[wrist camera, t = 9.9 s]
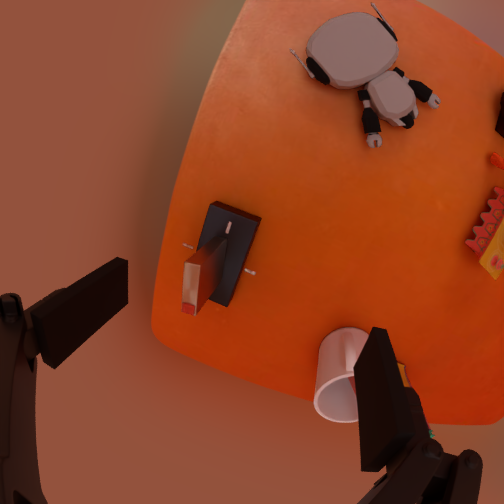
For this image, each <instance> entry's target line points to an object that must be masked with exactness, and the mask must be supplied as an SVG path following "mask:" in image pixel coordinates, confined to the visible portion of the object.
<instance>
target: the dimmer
mask: <svg viewBox="0 0 504 504" xmlns="http://www.w3.org/2000/svg"><path fill="white" fill-rule="evenodd" d="M260 221H261V218H260V217H258V216H255V215H252V214H250V213H247V212H245V211H242V210H240V209H237V208H234V207H232V206H229V205H226V204H224V203H221V202H218V201H215V202H213V203H211V204H210V206H209V209H208V212H207V216H206V219H205V222H204V226H203V229H202V232H201V236H200V239H199V243H198V246H197V250H196V252H197V251H198V250H199V249H200V248H201V247H203V246H204V245H205V244H206V243H207V242H209V241H210V240H211V239H212V238H213V237H215V236H217V237H222V238H226V239H227V246H226V253H225V260H224V268H223V275H222V281H221V282H220V283H219V285H218V286H217V287H216V289H215V290H214V292H213V293H212V294H211V296H210V297H209V298H208V299H209V300H211V301H214V302H216V303H218V304H221V305H223V306H225V307H228V305H229V303H230V301H231V300H232V297H233V295H234V292H235V289H236V286H237V284H238V281H239V278H240V276H241V273H242V270H243V267H244V265H245V262H246V259H247V256H248V254H249V251H250V248H251V246H252V243H253V240H254V237H255V235H256V232H257V229H258V226H259V224H260ZM183 246H185V247H188V248H190V249H193V246H191V245H188V244H186V243H183ZM244 271H245V272H248V273H250V274H253V275H255V274H256V272H254V271H251V270H249V269H246V268H245V270H244Z"/></svg>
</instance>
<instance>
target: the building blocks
mask: <svg viewBox="0 0 504 504" xmlns="http://www.w3.org/2000/svg"><path fill="white" fill-rule="evenodd" d="M490 162H491V163H492V164H493V165H496V166H497V167H498V168H501V169H503V170H504V159H503V158H501V157H500V156H499V155H498V154H497V153H495V152H494V153H493V154H492V157H491V158H490ZM494 192H495V193H496V194H497V195H498V197H497V199H489V200H488V202H487V204H488V205H489V207H490V208H491V210H490V212H489V213H488V212H482V213H481V215H480V217H481V219H482V220H483V221H484V223H483V225H482V226H474V227H473V229H472V230H473V232H474V233H475V234H476V237H475V239H474V240H470V239H466V241H465V243H466V244H467V246H469V247H470V248H471V249H473V252H474V253H475V254H476V255H478V256H479V263H480V264H481V265H482V266H483V267H484V268H485V269H486V270H487V271H488V273H489V274H490V275H491V276H492V277H493V278H494V279H495V280H496V279H497V278H498V276H499V275H500V273H501V271H502V270H503V268H504V190H503V189H501V188H498V187H495V188H494ZM397 364H398V367H399V370H400V373H401V377H402V380H403V384H404V387H412V386H411V384H410V381H409V379H408V377H407V375H406V372H405V365H402V364H399V363H397ZM348 379H349V382H350V384H351V386H352V388H353V391H354V393H355V395H356V388H355V379H354V376H350V377H348ZM423 414H424V412H423ZM425 419H426V417H425ZM426 423H427V426H428V430H429V434H430V438H432V437H433V436H435V435H432V433H431V432H432V430H431V429H430V426H429V424H428V422H427V419H426Z"/></svg>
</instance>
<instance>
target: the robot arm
mask: <svg viewBox="0 0 504 504" xmlns="http://www.w3.org/2000/svg"><path fill="white" fill-rule="evenodd" d="M127 304H128V260H125V259H122V258H119V257H116V258H115V259H113V260H111V261H110V262H108V263H106V264H104V265H103V266H101V267H99V268H98V269H96V270H95V271H93V272H91V273H89V274H88V275H86V276H85V277H83V278H81V279H80V280H78V281H76V282H75V283H73V284H72V285H70V286H69V287H67V288H62V289H58V290H55V291H54V292H52V293H51V294H49V295H48V296H46V297H44V298H43V299H42V300H40V301H38V302H37V303H35V304H34V305H32V306H31V307H29V308H28V309H26V310H24V311H23V306H22V302H21V298H20V297H19V295H17V294H15V293H6V294H4V295H1V296H0V504H48V503H47V501H46V499H45V497H44V495H43V493H42V489H41V484H40V477H39V469H38V460H37V447H36V426H35V395H36V394H35V393H36V374H37V358H36V356H37V355H38V354H39V353H41V356H42V359H43V362H44V363H46V364H47V365H49V366H50V367H51V368H53V369H56V368H57V367H58V366H59V365H60V364H61V363H62V362H63V361H64V360H65V359H66V358H67V357H69V356H70V355H71V354H72V353H73V352H74V351H75V350H76V349H77V348H78V347H80V346H81V345H82V344H83V343H84V342H85V341H86V340H87V339H88V338H89V337H90V336H92V335H93V334H94V333H95V332H96V331H97V330H98V329H100V328H101V327H102V326H103V325H104V324H105V323H106V322H107V321H109V320H110V319H111V318H112V317H113V316H114V315H115V314H117V313H118V312H119V311H120V310H121V309H122V308H123V307H125V306H126V305H127ZM353 370H354V379H355V388H356V398H357V409H358V421H359V436H360V453H361V471H364V472H379V471H380V470H381V469H382V468H383V467H384V466H385V465H386V470H387V473H386V474H385V475H384V476H382V477H381V478H380V479H379V480H378V481H377V482H375V483H374V485H375V486H374V487H373V488H372V489H371V490H370V491H369V492H368V493H367V494H366V495H365V496H364V497H363V498H362V499H361V500H360V501H359V502H358V503H357V504H415V503H416V504H477V501H478V495H479V490H480V483H481V476H482V468H483V463H482V459H481V457H480V455H479V454H478V453H477V452H475V451H473V450H470V449H468V450H464V451H463V452H462V453H461V454H460V455H459V456H455V455H452V454H448V453H445V452H444V451H443V448H442V446H441V444H439V443H438V442H437V441H436V440H434V439H432V438H430V434H429V430H428V426H427V423H426V419H425V415H424V414H423V409H422V406H421V402H420V399H419V396H418V394H417V393H416V392H415V390H414V389H413V388H412V387H404V384H403V380H402V377H401V373H400V370H399V367H398V364H397V360H396V357H395V354H394V351H393V348H392V345H391V342H390V339H389V336H388V333H387V330H386V329H382V328H377V327H373V328H372V330H371V332H370V334H369V336H368V339H367V341H366V343H365V345H364V347H363V349H362V351H361V353H360V355H359V357H358V359H357V361H356V363H355V365H354V367H353Z"/></svg>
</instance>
